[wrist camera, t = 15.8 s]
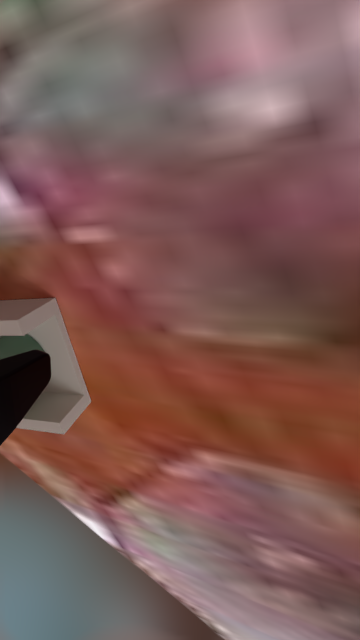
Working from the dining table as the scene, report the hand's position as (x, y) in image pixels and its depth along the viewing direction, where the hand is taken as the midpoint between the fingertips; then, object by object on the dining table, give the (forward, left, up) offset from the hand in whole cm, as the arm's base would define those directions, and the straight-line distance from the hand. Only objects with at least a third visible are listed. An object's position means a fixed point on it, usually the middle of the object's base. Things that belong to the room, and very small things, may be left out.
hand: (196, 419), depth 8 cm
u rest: (+17, +13, -13) cm, 25 cm away
